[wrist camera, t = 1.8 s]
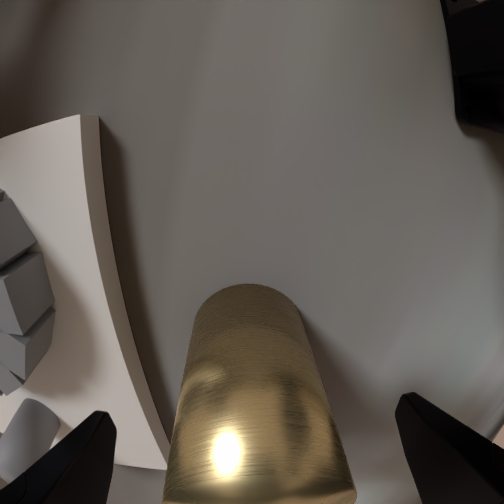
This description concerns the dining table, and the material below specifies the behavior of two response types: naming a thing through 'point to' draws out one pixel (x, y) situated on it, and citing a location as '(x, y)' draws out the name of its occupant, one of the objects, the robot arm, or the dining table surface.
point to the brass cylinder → (254, 410)
